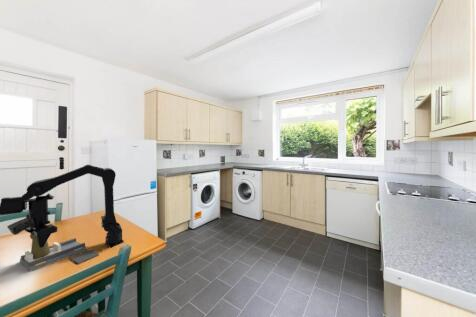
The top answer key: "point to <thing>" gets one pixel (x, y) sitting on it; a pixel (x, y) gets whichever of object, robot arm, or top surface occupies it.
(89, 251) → the rubber pad
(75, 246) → the grey slide rail tray
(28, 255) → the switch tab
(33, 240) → the cork
